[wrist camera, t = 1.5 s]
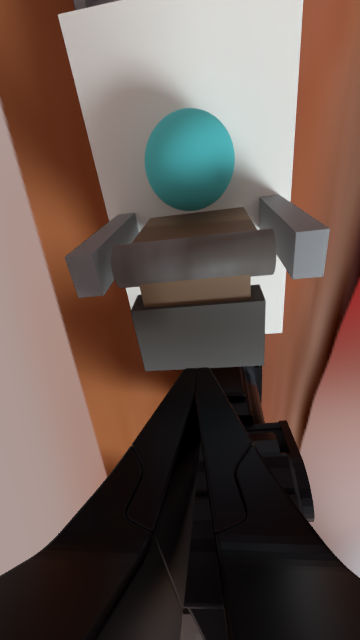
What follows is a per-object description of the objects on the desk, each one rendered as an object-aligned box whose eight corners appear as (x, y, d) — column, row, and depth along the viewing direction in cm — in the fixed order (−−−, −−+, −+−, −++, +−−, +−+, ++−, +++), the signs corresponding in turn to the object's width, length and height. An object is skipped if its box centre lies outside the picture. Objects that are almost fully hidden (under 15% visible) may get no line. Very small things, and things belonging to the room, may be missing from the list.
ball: (232, 198, 15) (240, 213, 12) (159, 207, 16) (146, 224, 12) (229, 106, 13) (237, 92, 10) (145, 120, 14) (125, 111, 10)
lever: (249, 292, 17) (271, 364, 12) (159, 299, 18) (138, 371, 12) (249, 199, 15) (277, 235, 9) (143, 212, 16) (107, 253, 10)
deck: (271, 307, 22) (317, 419, 13) (147, 317, 24) (111, 424, 15) (284, -2, 14) (438, -289, 5) (87, 40, 15) (-95, -120, 6)
